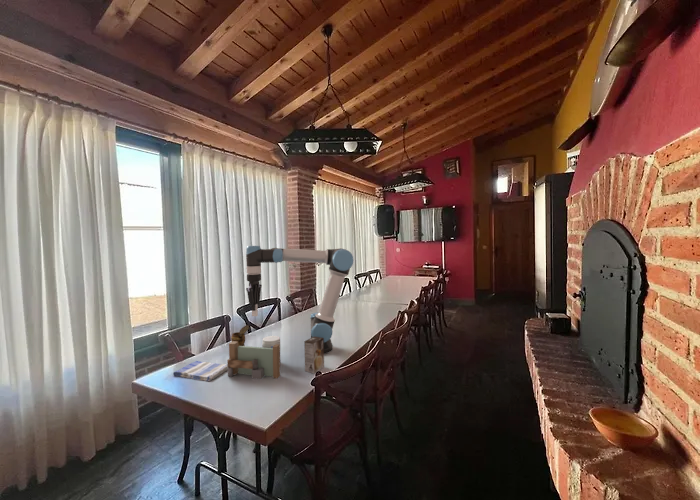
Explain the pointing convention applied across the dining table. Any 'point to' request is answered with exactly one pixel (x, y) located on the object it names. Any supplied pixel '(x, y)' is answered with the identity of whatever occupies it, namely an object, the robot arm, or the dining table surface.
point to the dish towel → (202, 370)
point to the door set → (265, 356)
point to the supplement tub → (270, 341)
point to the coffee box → (314, 354)
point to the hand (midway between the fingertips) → (254, 315)
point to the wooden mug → (240, 336)
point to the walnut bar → (243, 364)
